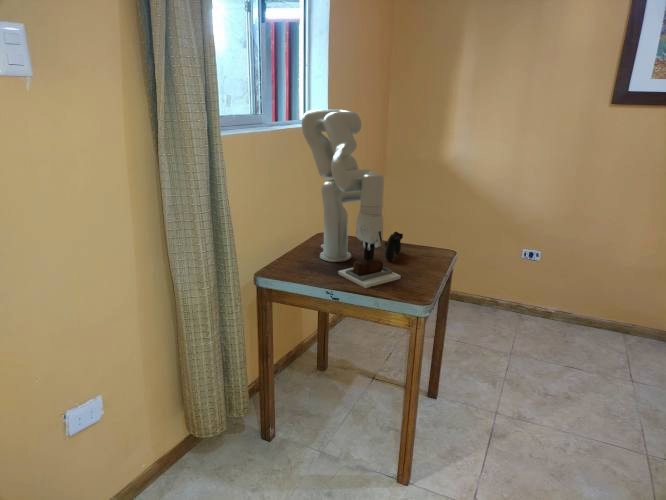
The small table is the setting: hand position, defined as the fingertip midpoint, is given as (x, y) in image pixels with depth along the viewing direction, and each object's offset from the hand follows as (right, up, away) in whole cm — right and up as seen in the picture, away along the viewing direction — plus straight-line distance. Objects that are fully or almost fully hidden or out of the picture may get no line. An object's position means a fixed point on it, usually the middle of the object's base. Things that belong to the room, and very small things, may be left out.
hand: (368, 259), depth 164 cm
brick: (0, -5, +2) cm, 5 cm away
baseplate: (0, -6, +2) cm, 6 cm away
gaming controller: (+11, 0, +23) cm, 26 cm away
